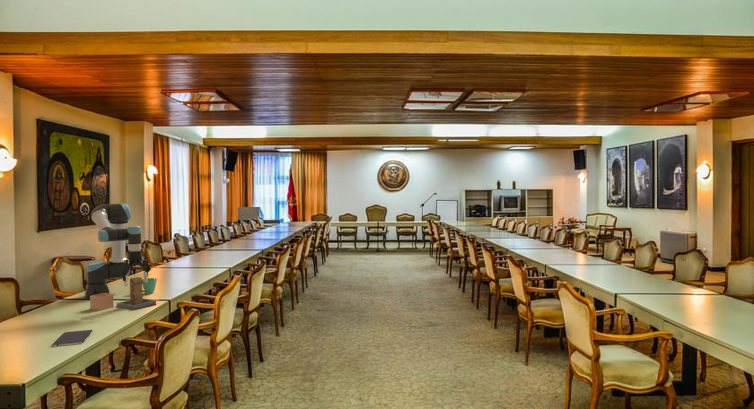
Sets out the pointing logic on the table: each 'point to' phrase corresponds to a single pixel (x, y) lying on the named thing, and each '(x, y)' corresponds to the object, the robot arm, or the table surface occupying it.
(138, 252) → the robot arm
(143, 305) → the charcoal tray
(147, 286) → the mug
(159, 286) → the table surface
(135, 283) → the walnut peg
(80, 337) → the notebook
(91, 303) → the square pink sleeve
